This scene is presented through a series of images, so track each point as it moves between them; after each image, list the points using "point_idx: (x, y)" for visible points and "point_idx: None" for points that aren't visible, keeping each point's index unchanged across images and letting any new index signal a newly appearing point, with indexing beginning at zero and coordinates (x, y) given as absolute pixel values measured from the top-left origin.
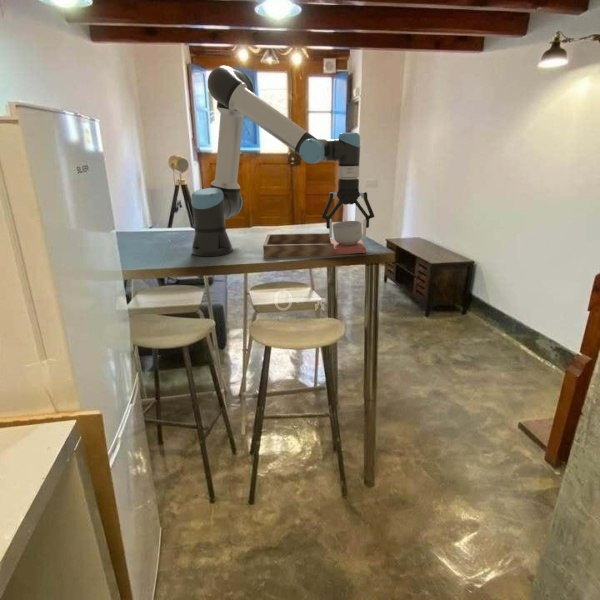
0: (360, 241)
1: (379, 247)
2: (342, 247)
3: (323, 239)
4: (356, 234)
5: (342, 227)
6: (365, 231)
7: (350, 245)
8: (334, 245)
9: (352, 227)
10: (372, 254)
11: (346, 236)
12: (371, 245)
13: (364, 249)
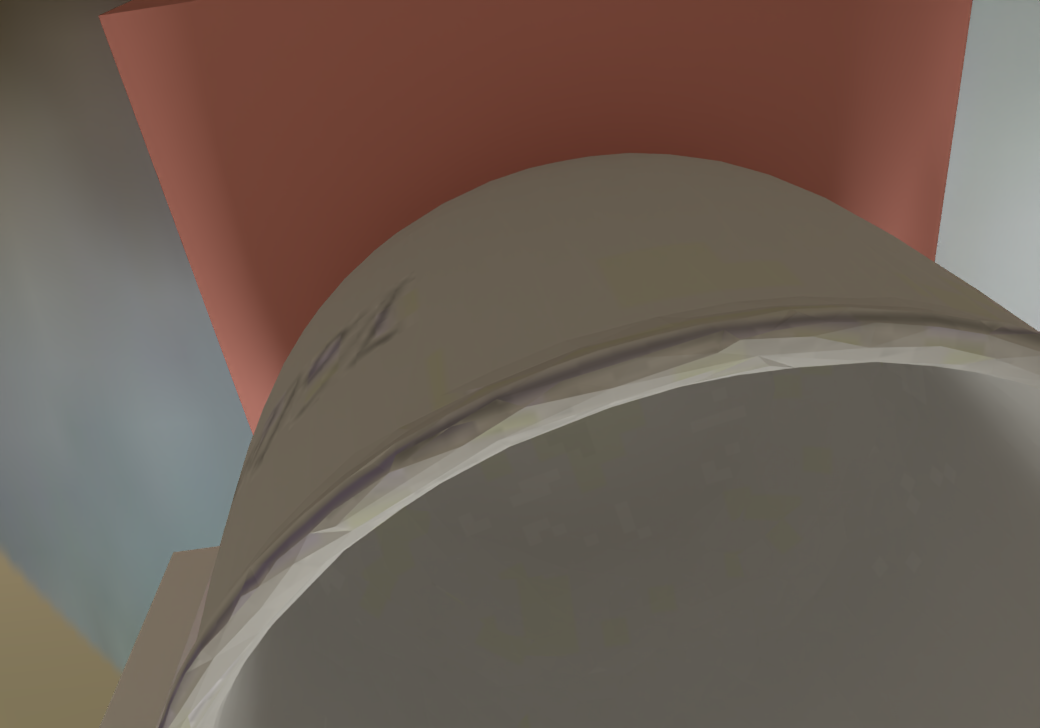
0: None
1: (39, 556)
2: (725, 74)
3: None
4: (353, 312)
5: (1016, 328)
6: (139, 665)
7: None
8: None
9: (509, 373)
10: (24, 47)
11: (695, 183)
12: None
13: (157, 2)
